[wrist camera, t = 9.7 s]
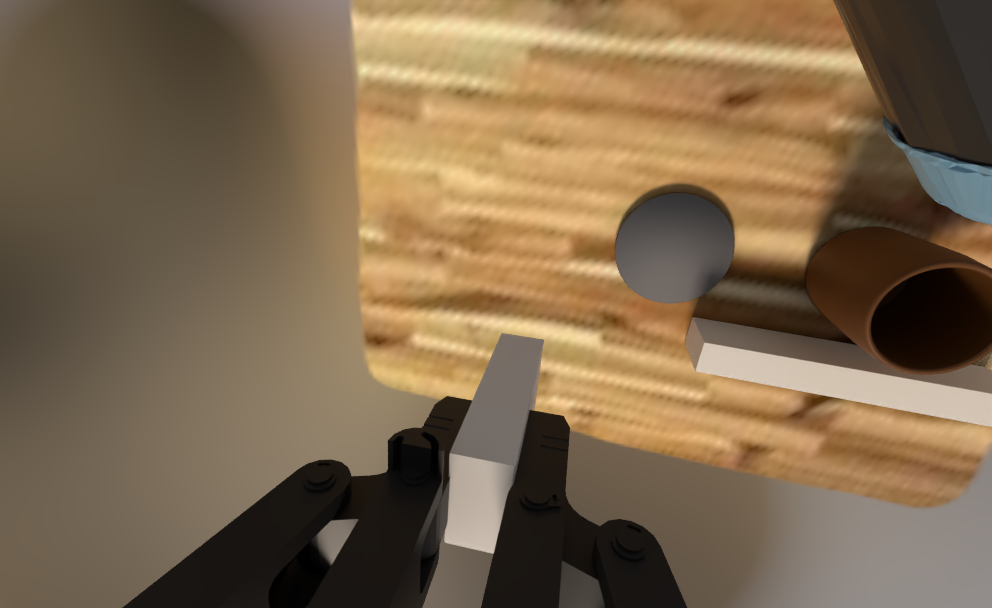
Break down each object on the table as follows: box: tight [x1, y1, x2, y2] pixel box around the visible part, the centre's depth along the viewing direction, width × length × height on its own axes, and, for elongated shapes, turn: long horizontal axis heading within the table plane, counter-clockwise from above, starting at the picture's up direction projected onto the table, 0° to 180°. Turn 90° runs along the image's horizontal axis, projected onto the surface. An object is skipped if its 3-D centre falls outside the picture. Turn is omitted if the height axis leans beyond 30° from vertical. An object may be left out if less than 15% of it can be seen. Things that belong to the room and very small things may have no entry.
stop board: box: [685, 317, 992, 427], centre depth 36 cm, size 2×22×5 cm, turn 84°
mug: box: [806, 227, 992, 375], centre depth 31 cm, size 12×8×9 cm, turn 92°
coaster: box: [615, 193, 735, 303], centre depth 38 cm, size 9×9×1 cm
